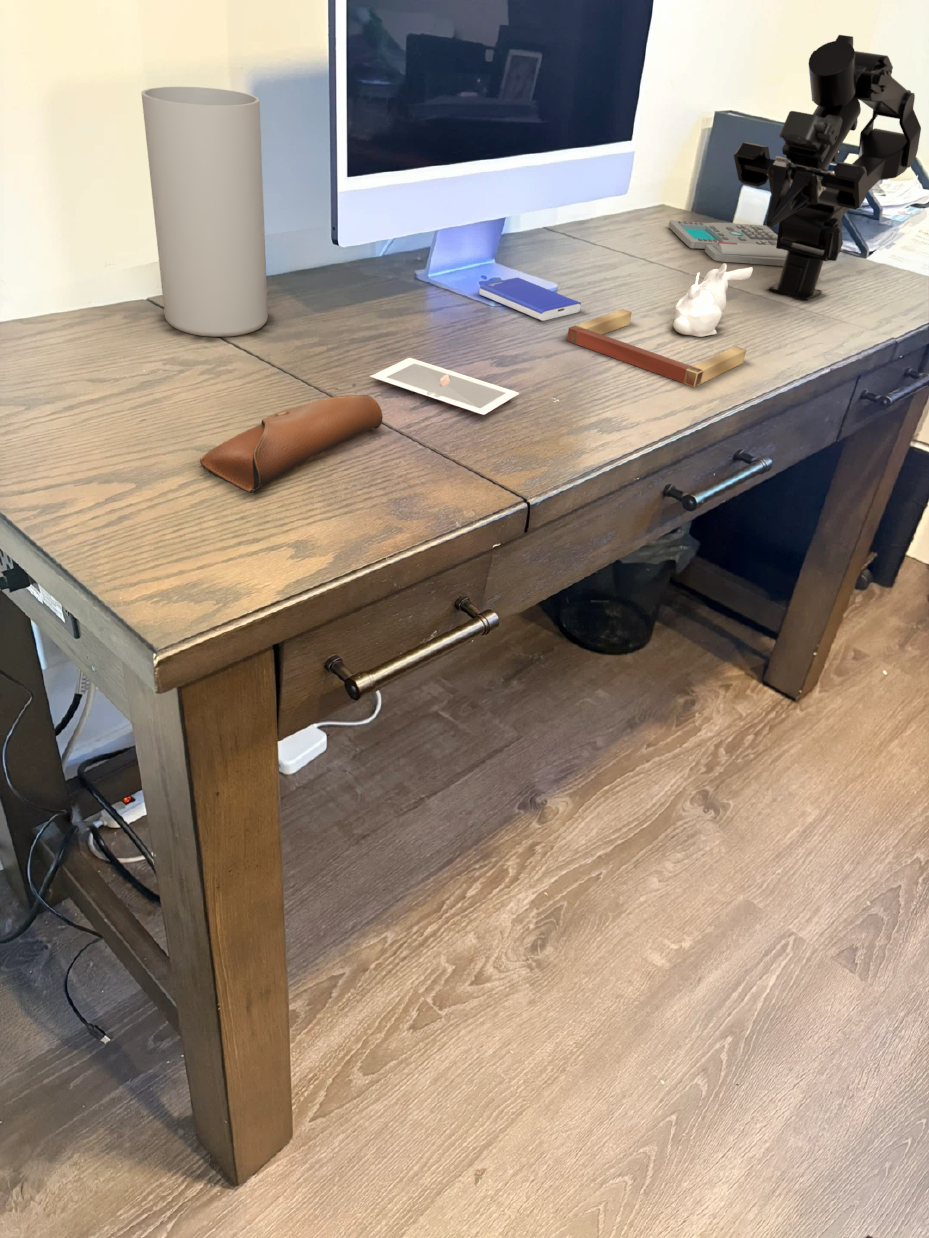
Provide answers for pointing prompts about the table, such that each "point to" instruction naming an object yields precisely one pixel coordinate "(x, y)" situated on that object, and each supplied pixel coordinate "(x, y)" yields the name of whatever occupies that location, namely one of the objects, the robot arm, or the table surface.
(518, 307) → the hard drive
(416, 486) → the table surface
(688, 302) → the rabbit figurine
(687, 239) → the office telephone
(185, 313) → the cylinder vase
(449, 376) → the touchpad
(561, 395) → the table surface
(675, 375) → the bay
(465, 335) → the table surface
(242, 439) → the sunglasses case
